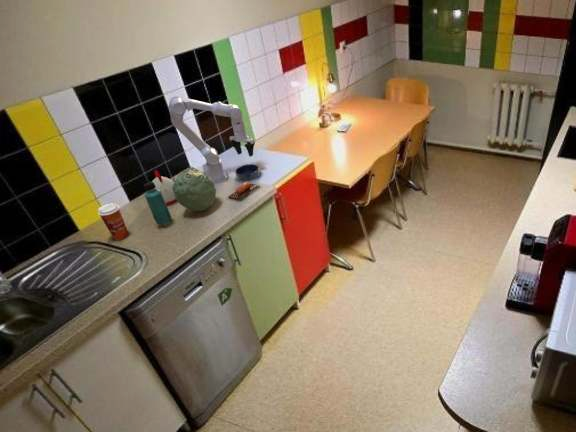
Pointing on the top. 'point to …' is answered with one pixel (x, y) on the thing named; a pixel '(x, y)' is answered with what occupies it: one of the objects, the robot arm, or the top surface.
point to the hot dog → (243, 187)
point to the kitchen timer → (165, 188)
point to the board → (243, 193)
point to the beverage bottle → (157, 204)
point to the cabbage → (194, 189)
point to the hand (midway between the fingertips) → (245, 154)
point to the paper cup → (113, 220)
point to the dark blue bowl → (247, 172)
